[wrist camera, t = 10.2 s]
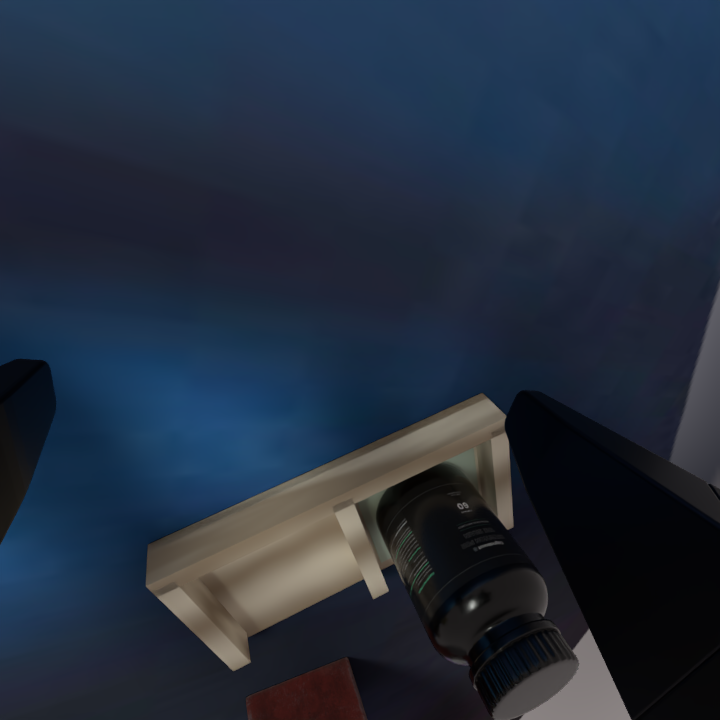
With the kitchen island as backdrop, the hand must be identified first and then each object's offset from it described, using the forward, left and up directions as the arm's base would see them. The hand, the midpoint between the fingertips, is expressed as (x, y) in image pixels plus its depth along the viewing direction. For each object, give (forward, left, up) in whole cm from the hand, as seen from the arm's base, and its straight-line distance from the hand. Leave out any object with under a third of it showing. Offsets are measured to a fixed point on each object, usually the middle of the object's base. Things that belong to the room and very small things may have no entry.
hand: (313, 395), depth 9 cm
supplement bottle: (+5, -20, -11) cm, 24 cm away
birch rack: (0, -20, -12) cm, 24 cm away
